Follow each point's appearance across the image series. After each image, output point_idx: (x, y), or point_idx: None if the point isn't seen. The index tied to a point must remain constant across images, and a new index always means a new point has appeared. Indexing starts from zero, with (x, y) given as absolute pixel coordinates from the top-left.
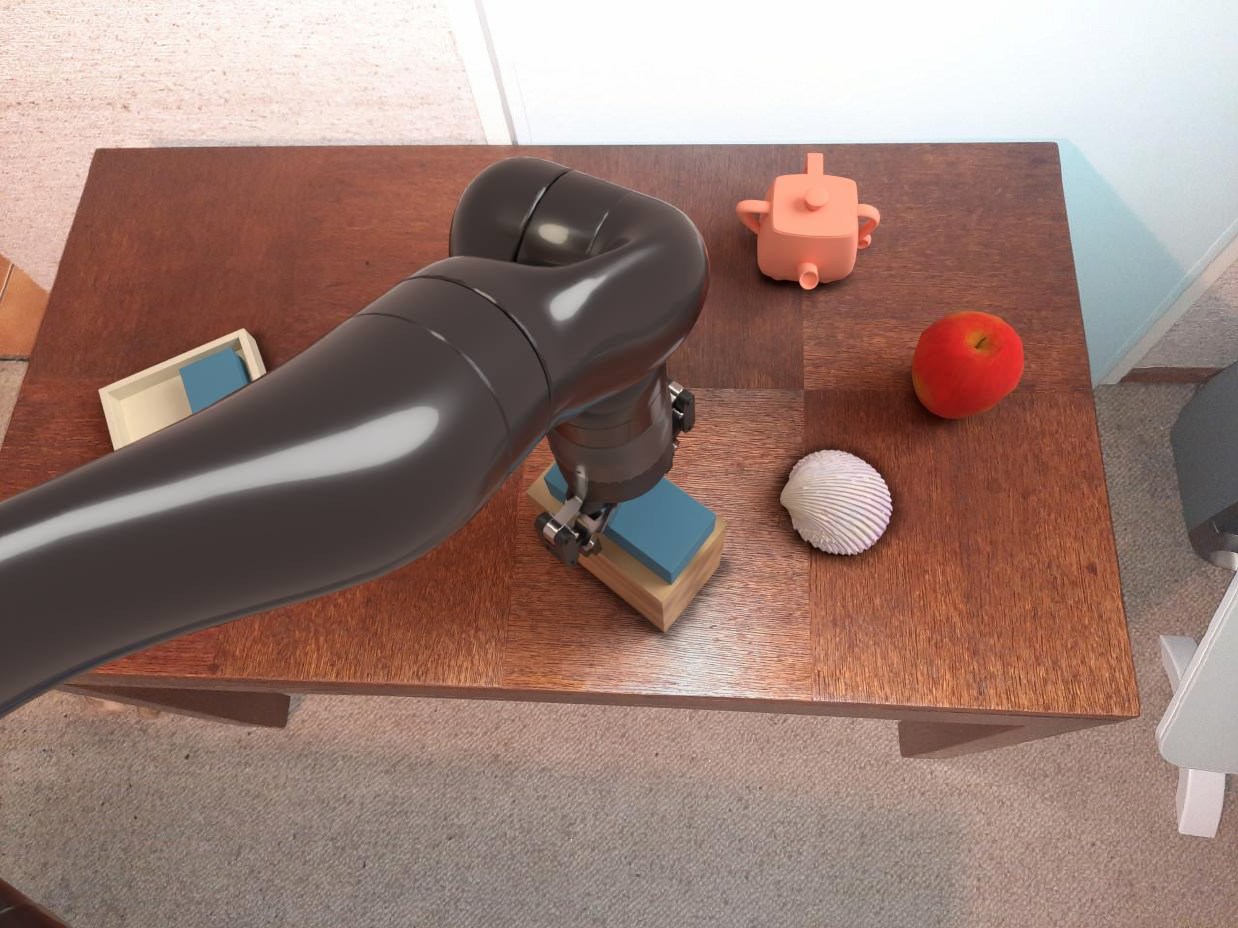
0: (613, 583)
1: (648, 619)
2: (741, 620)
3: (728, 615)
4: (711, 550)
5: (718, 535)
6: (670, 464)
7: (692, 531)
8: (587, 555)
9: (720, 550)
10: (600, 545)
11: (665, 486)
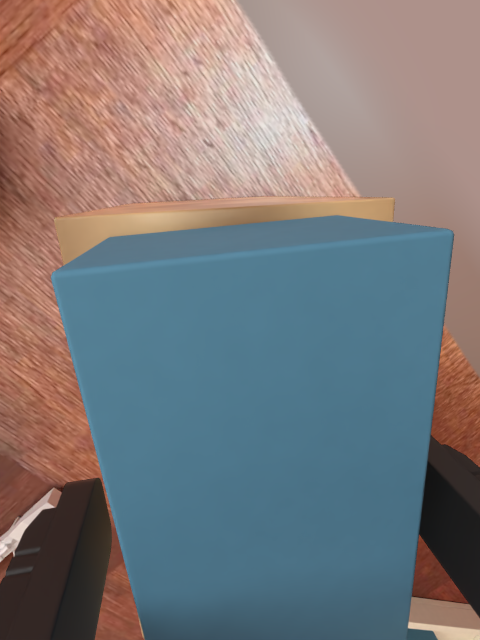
0: None
1: None
2: (168, 111)
3: (177, 135)
4: (149, 208)
5: (109, 213)
6: (61, 526)
7: (221, 302)
8: (459, 456)
9: (119, 206)
10: (436, 467)
11: (148, 527)
